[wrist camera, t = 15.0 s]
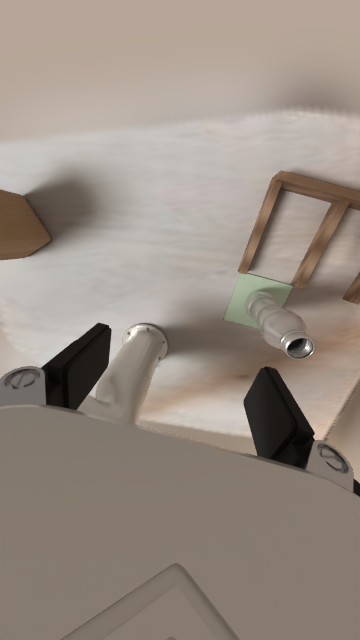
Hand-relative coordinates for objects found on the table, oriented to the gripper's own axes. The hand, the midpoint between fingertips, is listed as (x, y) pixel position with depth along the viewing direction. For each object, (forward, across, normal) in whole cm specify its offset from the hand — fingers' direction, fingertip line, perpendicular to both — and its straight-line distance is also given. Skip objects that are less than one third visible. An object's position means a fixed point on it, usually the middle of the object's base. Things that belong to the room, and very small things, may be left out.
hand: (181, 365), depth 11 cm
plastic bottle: (+33, -16, +3) cm, 37 cm away
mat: (+33, -16, +3) cm, 37 cm away
